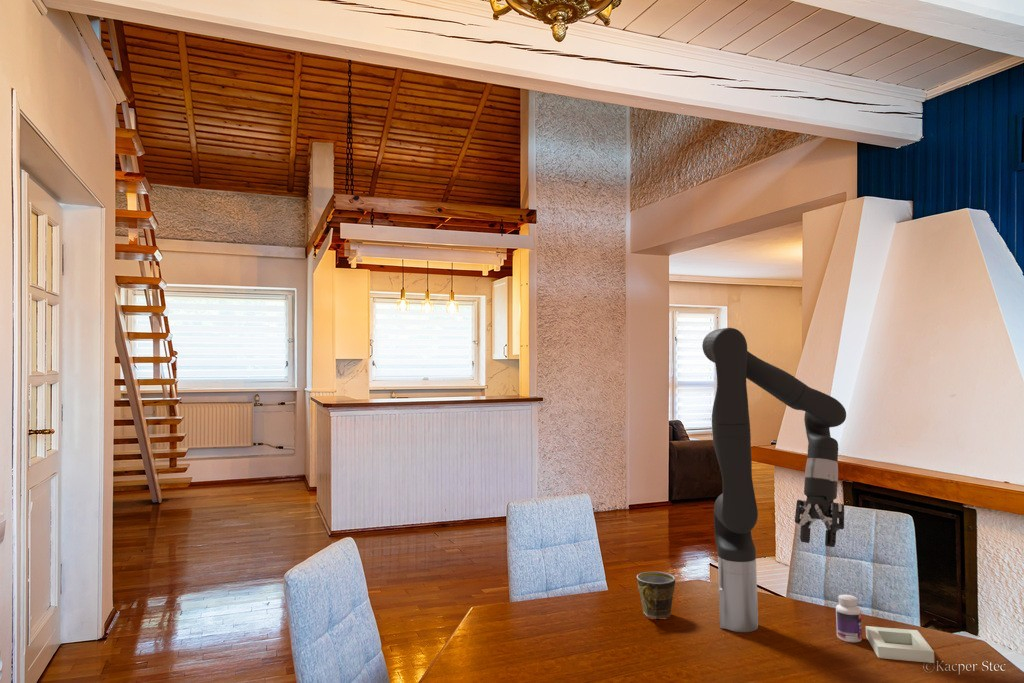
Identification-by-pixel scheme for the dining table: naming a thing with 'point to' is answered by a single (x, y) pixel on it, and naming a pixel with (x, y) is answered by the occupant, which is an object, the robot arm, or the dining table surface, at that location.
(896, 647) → the socket board
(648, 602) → the ceramic cup
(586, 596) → the dining table surface
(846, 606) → the pill bottle
